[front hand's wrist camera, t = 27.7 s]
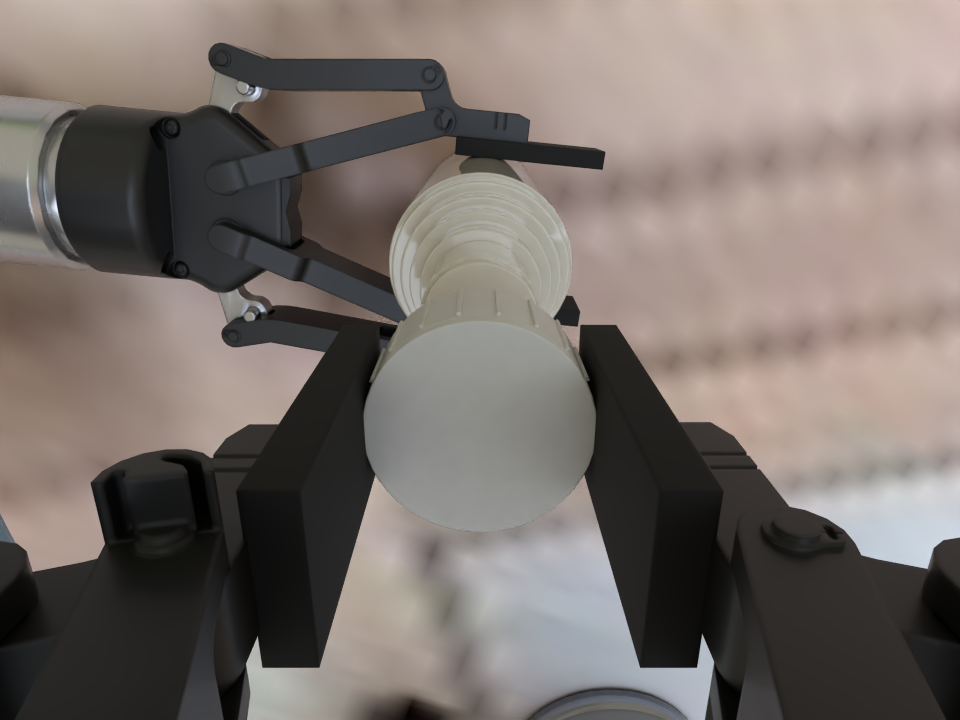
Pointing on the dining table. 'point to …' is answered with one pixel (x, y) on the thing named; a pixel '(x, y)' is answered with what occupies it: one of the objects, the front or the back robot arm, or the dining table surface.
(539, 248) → the bottle
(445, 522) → the cap
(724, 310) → the dining table surface
